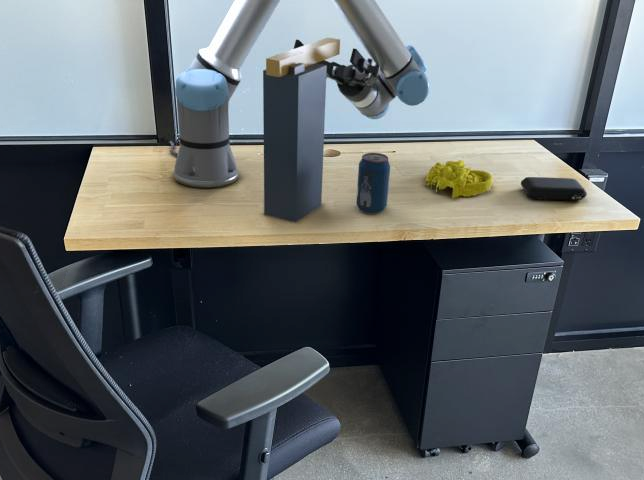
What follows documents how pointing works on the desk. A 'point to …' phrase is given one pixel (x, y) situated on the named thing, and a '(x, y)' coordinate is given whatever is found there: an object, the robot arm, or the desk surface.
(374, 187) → the soda can
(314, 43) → the bar
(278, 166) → the door post
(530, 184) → the carrying case
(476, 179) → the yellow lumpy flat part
